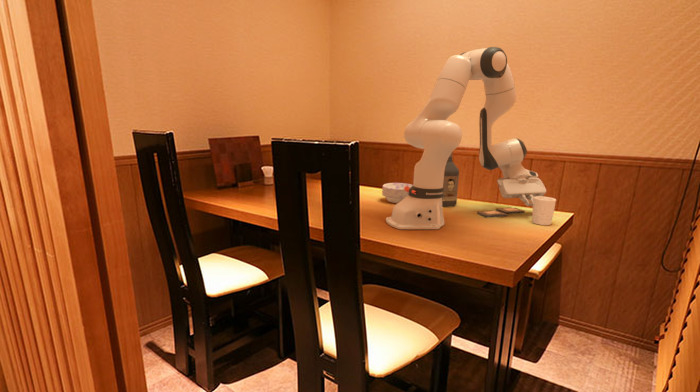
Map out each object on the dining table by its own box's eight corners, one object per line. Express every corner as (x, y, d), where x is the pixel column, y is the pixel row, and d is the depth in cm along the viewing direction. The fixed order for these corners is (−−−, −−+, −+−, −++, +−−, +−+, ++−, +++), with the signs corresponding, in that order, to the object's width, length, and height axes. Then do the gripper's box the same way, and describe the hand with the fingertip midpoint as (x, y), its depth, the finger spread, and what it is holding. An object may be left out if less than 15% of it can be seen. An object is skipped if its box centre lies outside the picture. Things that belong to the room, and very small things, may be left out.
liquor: (431, 202, 176) (435, 139, 170) (448, 202, 178) (453, 139, 172) (440, 207, 168) (445, 140, 161) (458, 206, 170) (464, 141, 163)
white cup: (556, 226, 142) (559, 201, 140) (534, 225, 143) (537, 200, 141) (547, 220, 150) (551, 196, 147) (527, 219, 150) (530, 195, 148)
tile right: (505, 214, 158) (505, 211, 158) (496, 210, 164) (496, 208, 164) (524, 213, 161) (525, 210, 161) (515, 209, 167) (515, 207, 166)
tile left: (485, 217, 152) (486, 214, 152) (477, 214, 158) (477, 211, 157) (506, 216, 155) (506, 213, 155) (496, 212, 160) (497, 210, 160)
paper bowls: (378, 203, 173) (379, 186, 171) (385, 197, 187) (386, 181, 186) (411, 206, 169) (412, 189, 167) (415, 199, 183) (416, 183, 181)
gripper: (499, 173, 153) (513, 201, 145) (540, 172, 158) (555, 200, 151) (491, 182, 158) (504, 210, 151) (531, 181, 163) (545, 208, 156)
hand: (530, 205), depth 151 cm, fingers closed
